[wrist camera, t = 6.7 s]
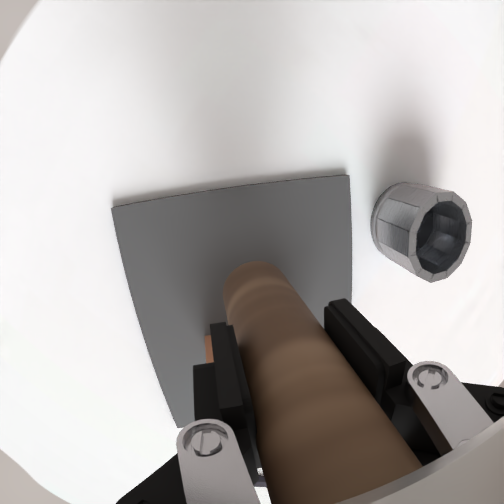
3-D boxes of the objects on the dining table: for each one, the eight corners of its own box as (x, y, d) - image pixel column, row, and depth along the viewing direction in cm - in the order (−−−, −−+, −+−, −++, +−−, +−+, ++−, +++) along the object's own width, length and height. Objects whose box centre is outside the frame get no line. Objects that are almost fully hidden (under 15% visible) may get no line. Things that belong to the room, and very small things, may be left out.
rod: (217, 267, 15) (314, 628, 1) (285, 256, 15) (510, 526, 2) (227, 326, 16) (307, 627, 2) (289, 315, 16) (442, 572, 3)
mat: (113, 207, 19) (111, 208, 19) (346, 174, 21) (349, 175, 21) (177, 424, 25) (177, 427, 25) (343, 391, 27) (345, 394, 27)
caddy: (369, 185, 22) (409, 195, 17) (430, 180, 22) (473, 189, 18) (370, 264, 24) (405, 289, 19) (428, 252, 24) (466, 271, 20)
